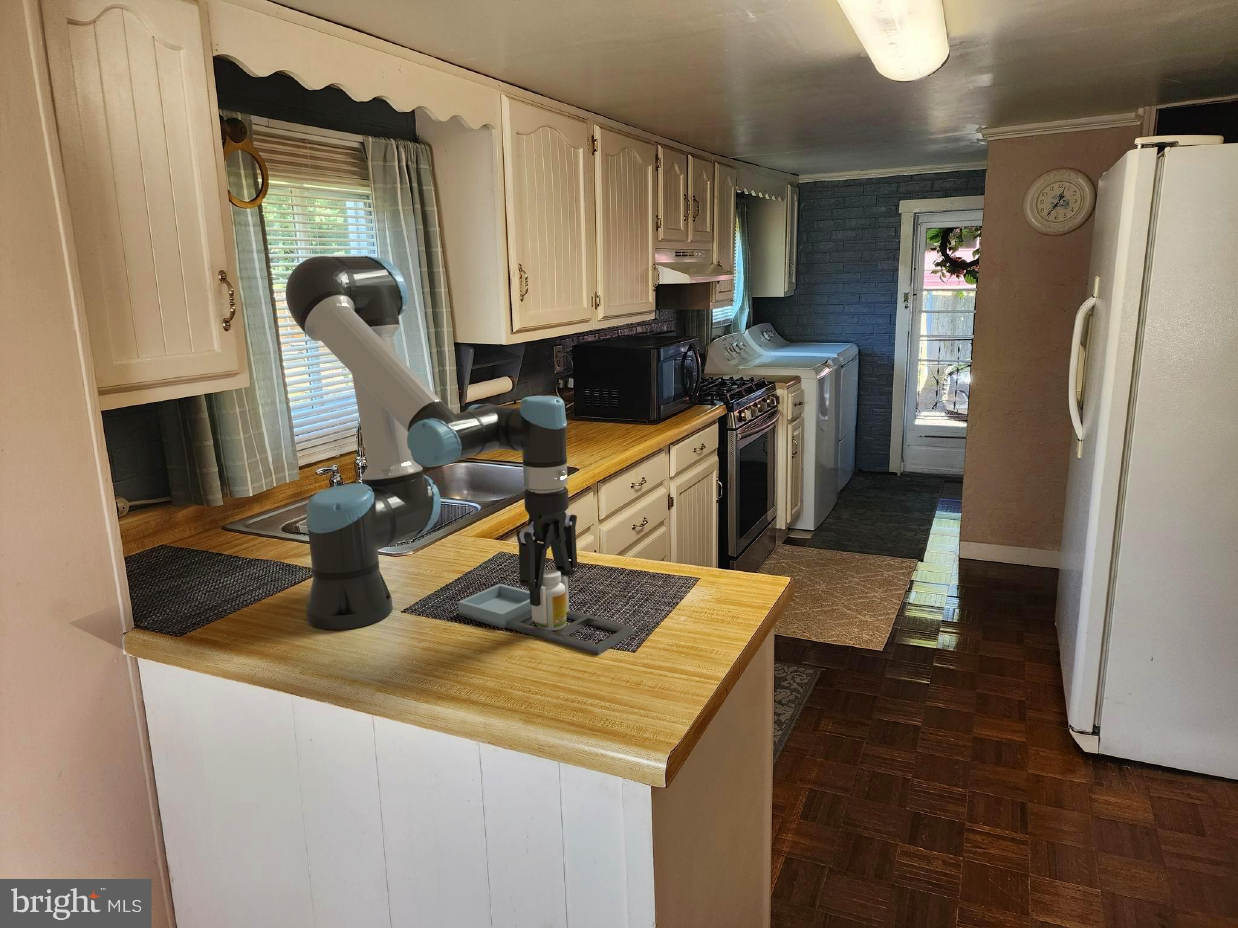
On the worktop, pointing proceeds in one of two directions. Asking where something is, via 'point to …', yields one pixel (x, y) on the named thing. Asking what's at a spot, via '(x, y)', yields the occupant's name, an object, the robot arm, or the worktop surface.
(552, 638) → the dark grey double frame
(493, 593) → the tray
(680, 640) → the worktop surface
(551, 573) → the supplement bottle
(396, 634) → the worktop surface
